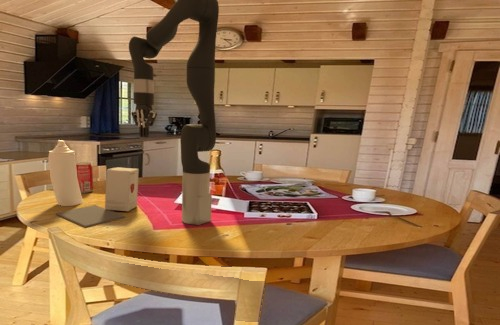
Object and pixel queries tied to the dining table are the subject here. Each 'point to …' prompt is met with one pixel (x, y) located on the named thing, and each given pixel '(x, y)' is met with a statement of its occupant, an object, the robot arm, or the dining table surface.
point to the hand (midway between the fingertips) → (144, 136)
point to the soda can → (85, 176)
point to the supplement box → (121, 189)
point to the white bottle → (64, 175)
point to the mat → (90, 215)
